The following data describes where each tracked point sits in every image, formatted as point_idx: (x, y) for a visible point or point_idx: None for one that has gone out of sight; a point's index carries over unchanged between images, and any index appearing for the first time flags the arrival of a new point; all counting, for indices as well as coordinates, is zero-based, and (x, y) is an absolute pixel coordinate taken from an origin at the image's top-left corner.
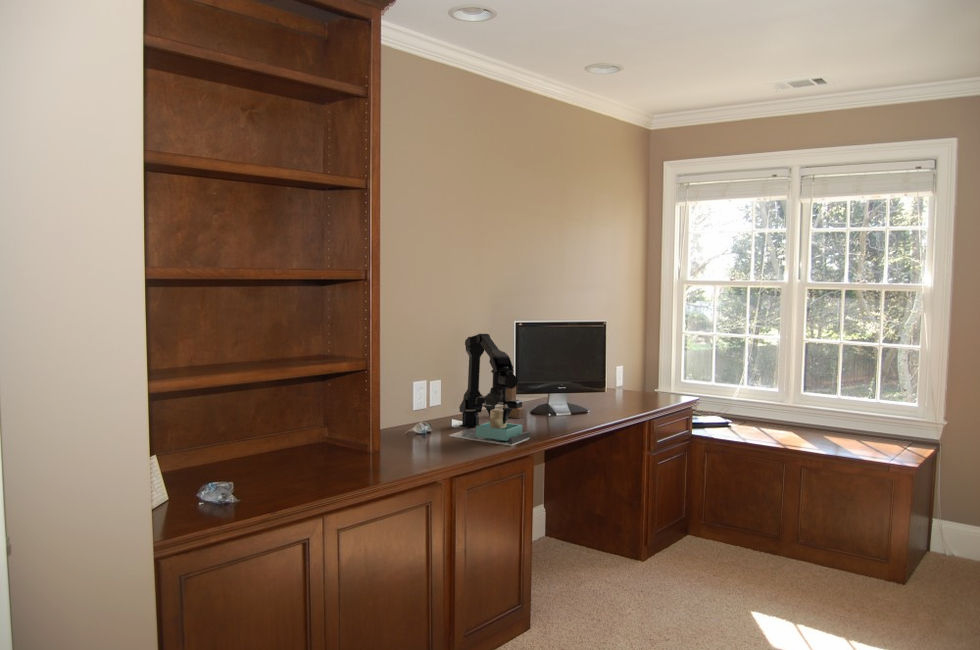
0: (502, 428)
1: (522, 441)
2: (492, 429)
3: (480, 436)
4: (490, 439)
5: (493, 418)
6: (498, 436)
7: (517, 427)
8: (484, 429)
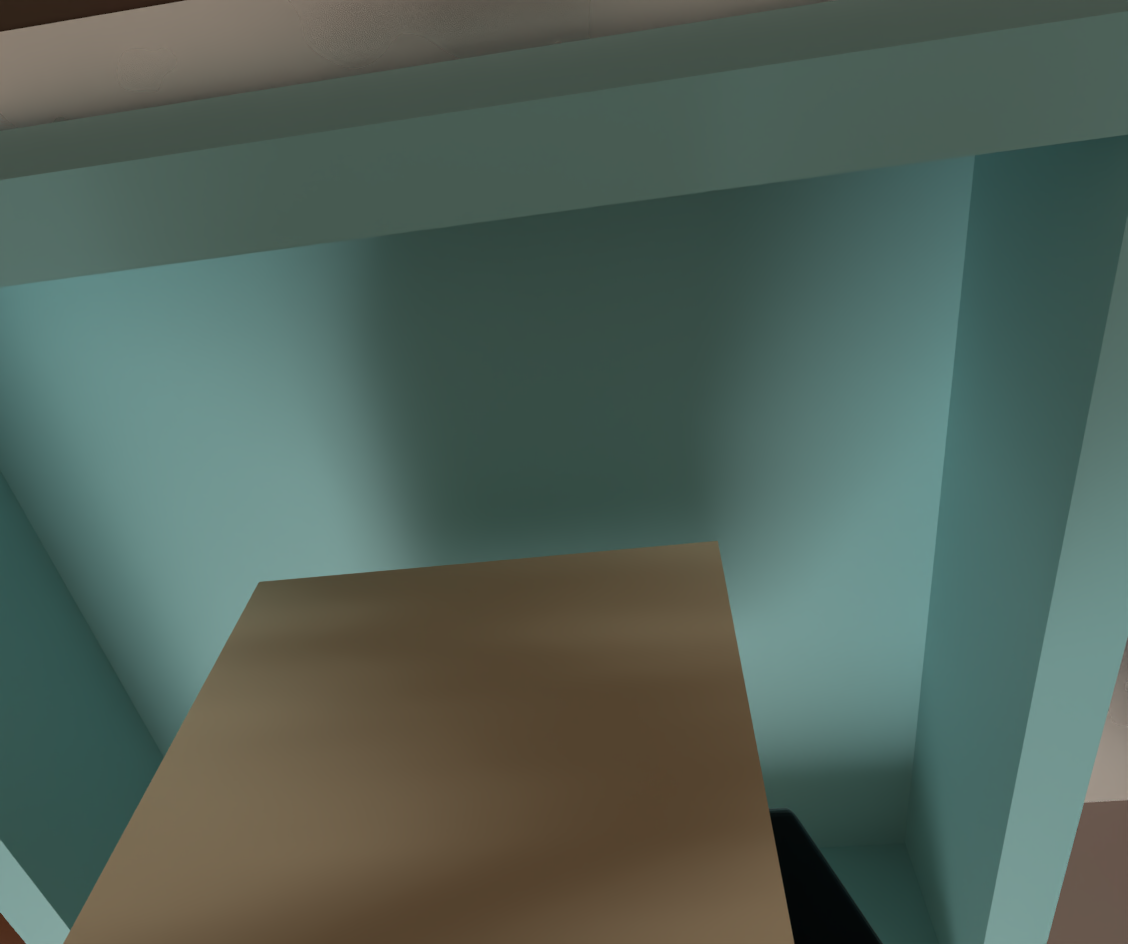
0: None
1: None
2: (210, 142)
3: (819, 4)
4: None
5: (549, 901)
6: (49, 133)
7: (18, 904)
8: (678, 66)
